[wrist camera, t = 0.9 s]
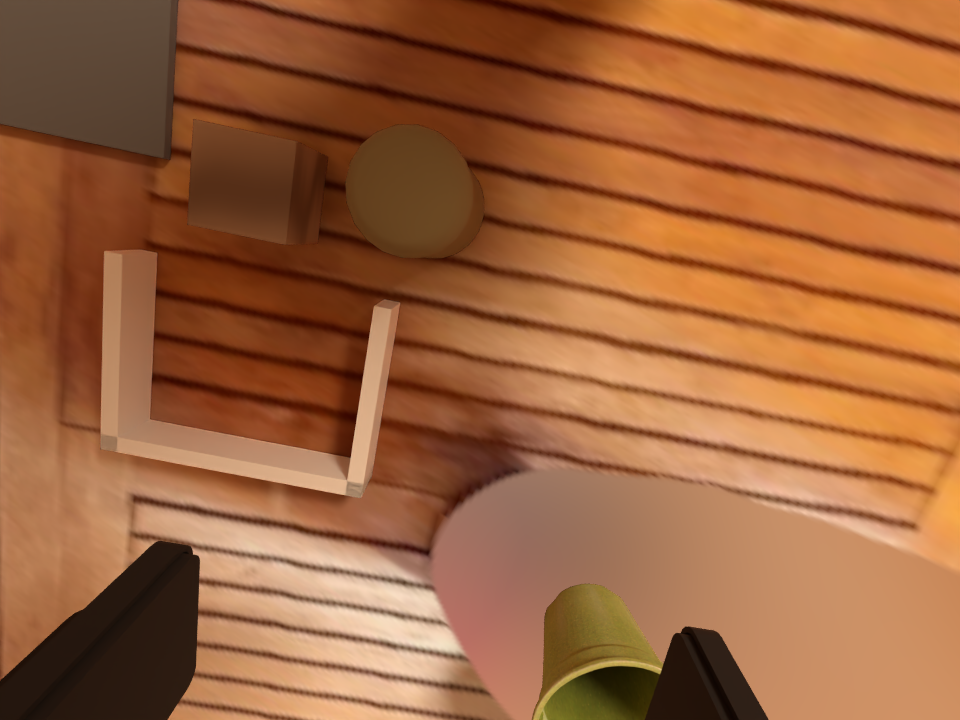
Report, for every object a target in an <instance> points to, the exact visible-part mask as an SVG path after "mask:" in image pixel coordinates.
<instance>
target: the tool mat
mask: <svg viewBox="0 0 960 720" xmlns="http://www.w3.org/2000/svg"><path fill="white" fill-rule="evenodd" d="M177 12H178V0H0V124H3V125H8V126H12V127H17V128H22V129H26V130H31V131H36V132H41V133H45V134H50V135H55V136H60V137H64V138H69V139H74V140H78V141H83V142H88V143H93V144H97V145H102V146H107V147H111V148H116V149H121V150H126V151H130V152H135V153H140V154H144V155H149V156H154V157H159V158H163V159H168V160H170V156H171V135H172V115H173V94H174V74H175V53H176V32H177Z"/></svg>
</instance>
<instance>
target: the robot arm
mask: <svg viewBox="0 0 960 720" xmlns="http://www.w3.org/2000/svg"><path fill="white" fill-rule="evenodd" d="M199 570H200V559H199V556H197V555H193V551H192V548H191V546H188V545H182V544H176V543H170V542H164V541H158V542H156V543H154V544H153V545H152V546H150V547H149V548H148V549H147V550H146V551H145V552H144V553H143V554H142V555H141V556H140V557H139V558H138V559H137V560H136V561H135V562H133V563H132V564H131V565H130V566H129V567H128V568H127V569H126V570H125V571H124V572H123V573H122V574H121V575H120V576H119V577H117V578H116V579H115V580H114V581H113V582H112V583H111V584H110V585H109V586H108V587H107V588H106V589H105V590H104V591H103V592H102V593H100V594H99V595H98V596H97V597H96V598H95V599H94V600H93V601H92V602H91V603H90V604H89V605H88V606H87V607H86V608H84V609H83V610H81V611H79V612H76V613H74V614H73V615H72V616H71V617H69V618H68V619H67V620H65V621H64V622H63V623H62V624H61V625H60V626H59V627H58V628H57V629H56V630H55V631H54V632H52V633H51V634H50V635H49V636H48V637H47V638H46V639H45V640H44V641H43V642H42V643H41V644H40V645H38V646H37V647H36V648H35V649H34V650H33V651H32V652H31V653H30V654H29V655H28V656H27V657H25V658H24V659H23V660H22V661H21V662H20V663H19V664H18V665H17V666H16V667H15V668H14V669H12V670H11V671H10V672H9V673H8V674H7V675H6V676H5V677H4V678H3V679H2V680H1V681H0V720H167V719H168V718H169V716H170V715H171V713H172V712H173V710H174V708H175V707H176V705H177V704H178V702H179V701H180V699H181V698H182V696H183V695H184V693H185V692H186V690H187V688H188V687H189V685H190V683H191V681H192V678H193V675H194V672H195V668H196V651H197V624H198V597H199ZM645 720H768V718H767V716H766V714H765V713H764V711H763V709H762V707H761V706H760V704H759V702H758V701H757V699H756V697H755V695H754V693H753V692H752V690H751V688H750V686H749V685H748V683H747V681H746V679H745V678H744V676H743V674H742V672H741V671H740V669H739V667H738V666H737V664H736V662H735V660H734V659H733V657H732V655H731V653H730V651H729V650H728V648H727V646H726V644H725V643H724V641H723V639H722V637H721V636H720V635H719V633H717V632H716V631H713V630H706V629H700V628H694V627H685V628H683V629H682V632H681V633H676V634H674V636H673V638H672V640H671V643H670V647H669V649H668V652H667V655H666V658H665V661H664V664H663V667H662V670H661V673H660V676H659V679H658V682H657V685H656V688H655V691H654V694H653V697H652V699H651V702H650V705H649V708H648V711H647V714H646V717H645Z"/></svg>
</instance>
